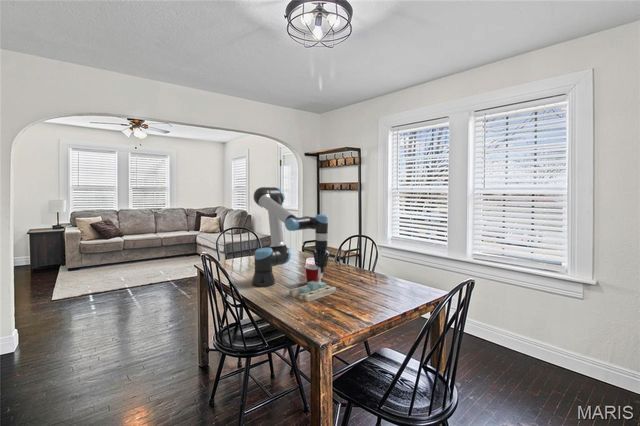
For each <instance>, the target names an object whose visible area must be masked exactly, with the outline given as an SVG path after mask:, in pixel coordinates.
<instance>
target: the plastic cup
mask: <svg viewBox="0 0 640 426" xmlns="http://www.w3.org/2000/svg"><path fill="white" fill-rule="evenodd" d="M304 269H305V274H306V275H305V277H306V281H307V282H311V281H315V282H318V279H319V278H318V267H317V266H316V265H315V264H305V265H304ZM307 282H306V283H307Z"/></svg>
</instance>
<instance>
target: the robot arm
mask: <svg viewBox="0 0 640 426" xmlns="http://www.w3.org/2000/svg"><path fill="white" fill-rule="evenodd" d="M285 199H286V197H285V193H284V191H283V190H282V189H281V188H280V187H275V186H273V187H267V186H266V187H265V186H264V187H258V188H257V189H255V191H254V193H253V201H254V202H255V203H256V205H258V206H259V207H260V208H264V209H265V210H266V211H267V214H268V223H269V233H270V234H269V235H270V241H271V244H270V245H269V247H261V248H257V249H256V250H254V256H253V257H254V272H253V277H252V280H251V285H252V286H254V287H257V288H258V287H261V288H263V287H264V288H265V287H271V286H273V285H275V284H276V280H275V276H274V272H273V267H276V266H281V265H284V264H285V265H286V264H287V263H289V261H290V260H291V255H292V254H291V250H290V248H289V247H288V246H287V243H286V242H285V241H284V240H285V239H284V231H283V224H284V226H285V228H286V230H288V231H289V232H291V231H293V232H295V231H301V230H303V231H304V230H314V231H315V236H314V237H315V241H314V246H315V248H314V249H312V254H313V259H314V265H316V266H317V267H318V278H317V279H322V278H324V277H323V276H324V272H325V271H324V269H325V268H327V265H328V261H329V257H330V255H331V252H330V251H328V237H329V236H328V233H329V232H328V229H329V215H327V214H316V215H315V217H314V216H305V215H304V216H302V217H297V216H296V215H294V214H293V213H292V212H290V211H289V210H288V209H286V208H284V206H283V203H284V201H285Z"/></svg>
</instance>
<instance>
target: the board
mask: <svg viewBox="0 0 640 426" xmlns="http://www.w3.org/2000/svg"><path fill="white" fill-rule="evenodd" d="M301 287H307V284H305V285H303V286H300V287H296V288H293V289H292V288H291V289H289V291H288V296H291V297H292V298H296V299H299V300H302V301H305V302H306V303H309V302H312V301H314V300H317V299H320V298H323V297H326V296H328V295H332V294H335V293H337V288H336V287H335V286H333V285H332V286H331V285H327V284H326V287H325V288H319V289H317V290H314V291H312V290H310V292H309V293H305V294H304V293H301V292H299V288H301Z"/></svg>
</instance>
